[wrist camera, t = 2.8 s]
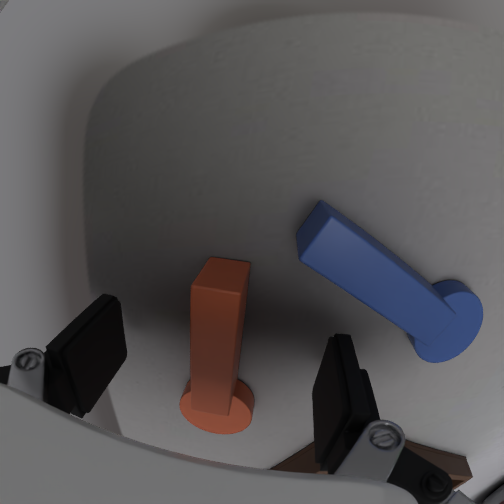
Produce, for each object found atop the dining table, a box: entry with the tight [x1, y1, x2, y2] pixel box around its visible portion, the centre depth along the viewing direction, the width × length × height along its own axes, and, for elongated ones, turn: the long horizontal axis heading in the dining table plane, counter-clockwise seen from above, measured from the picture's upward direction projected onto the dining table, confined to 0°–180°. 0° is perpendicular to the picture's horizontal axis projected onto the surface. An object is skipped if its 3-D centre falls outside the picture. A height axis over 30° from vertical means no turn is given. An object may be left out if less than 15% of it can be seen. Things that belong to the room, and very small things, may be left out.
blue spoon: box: [296, 200, 483, 363], centre depth 10 cm, size 10×4×3 cm, turn 58°
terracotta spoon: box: [180, 257, 254, 434], centre depth 12 cm, size 10×4×3 cm, turn 174°
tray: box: [270, 440, 473, 490], centre depth 15 cm, size 15×11×2 cm
